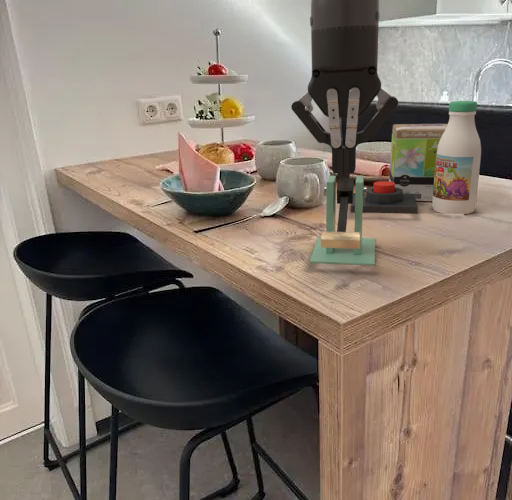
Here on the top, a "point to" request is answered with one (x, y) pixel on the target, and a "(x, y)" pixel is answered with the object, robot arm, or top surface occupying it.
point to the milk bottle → (458, 162)
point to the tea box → (415, 158)
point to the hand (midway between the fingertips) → (343, 176)
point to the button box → (388, 202)
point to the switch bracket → (366, 244)
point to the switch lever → (342, 220)
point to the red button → (384, 187)
